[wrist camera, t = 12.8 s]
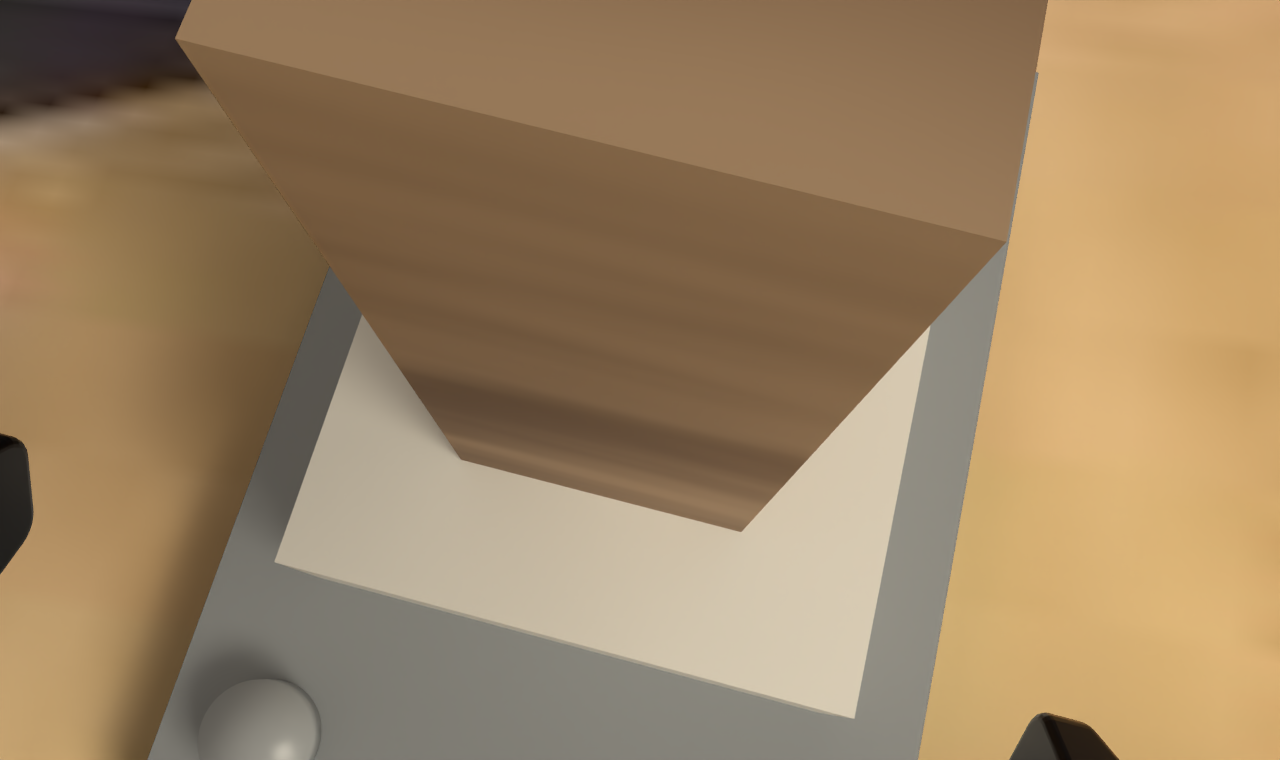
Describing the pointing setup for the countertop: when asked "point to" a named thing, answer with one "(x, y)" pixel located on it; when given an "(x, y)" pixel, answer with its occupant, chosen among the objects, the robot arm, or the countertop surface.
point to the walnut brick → (638, 210)
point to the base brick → (576, 583)
